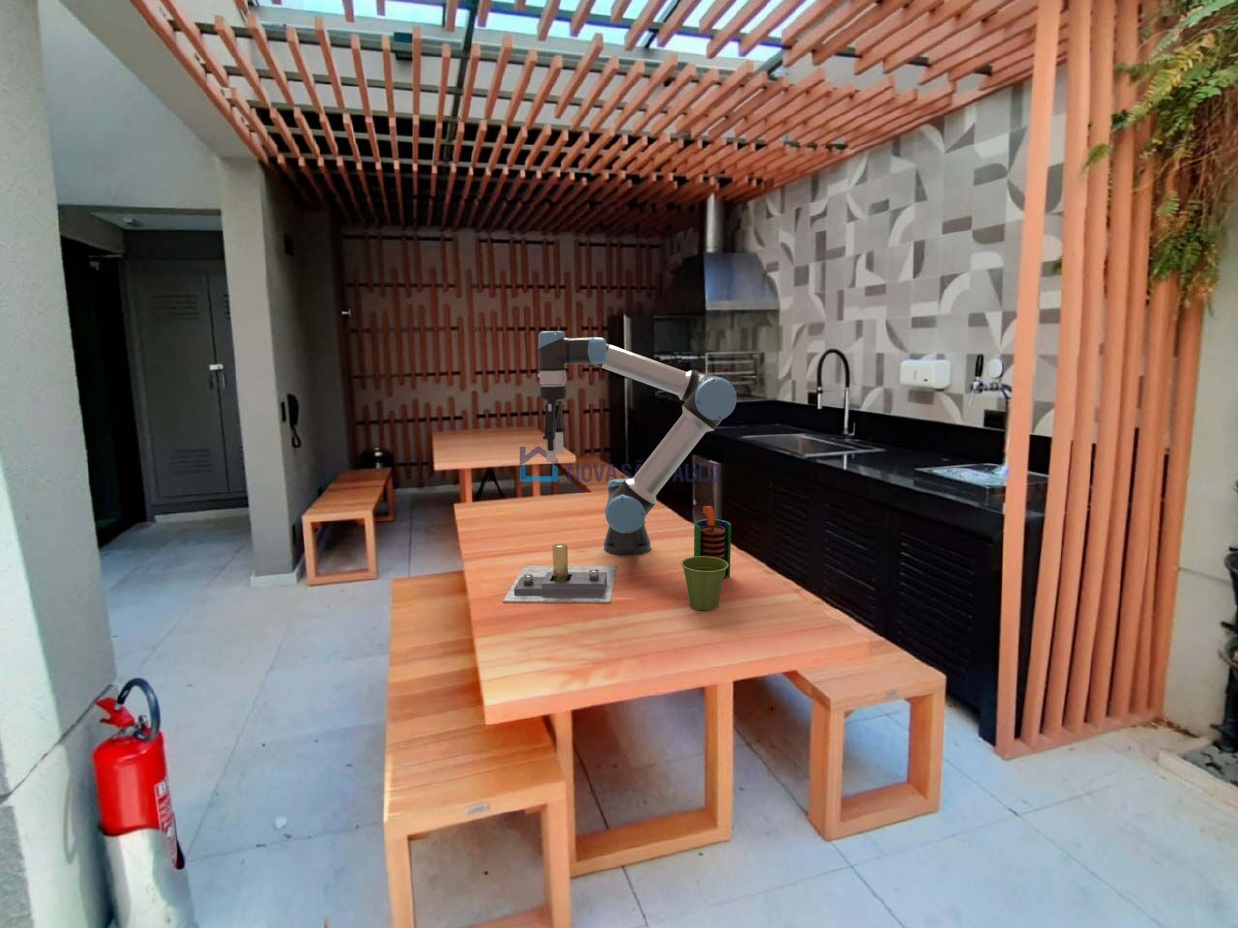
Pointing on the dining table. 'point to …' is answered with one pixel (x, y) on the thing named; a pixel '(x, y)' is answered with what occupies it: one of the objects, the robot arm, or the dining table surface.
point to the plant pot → (704, 580)
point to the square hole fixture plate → (563, 585)
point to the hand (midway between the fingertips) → (555, 457)
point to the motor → (713, 538)
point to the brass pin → (560, 562)
